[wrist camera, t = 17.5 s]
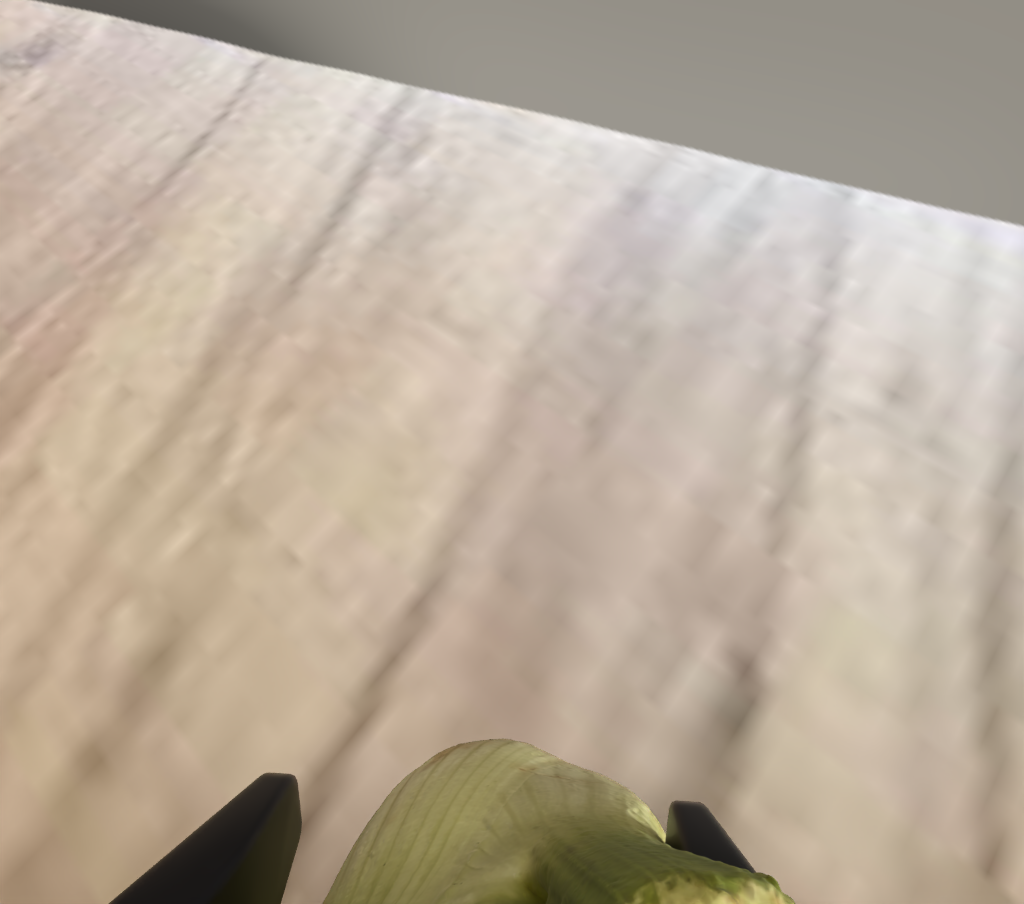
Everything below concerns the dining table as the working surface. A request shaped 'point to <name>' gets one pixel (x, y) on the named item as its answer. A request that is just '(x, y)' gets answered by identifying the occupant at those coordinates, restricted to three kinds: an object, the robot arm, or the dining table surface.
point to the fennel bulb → (527, 840)
